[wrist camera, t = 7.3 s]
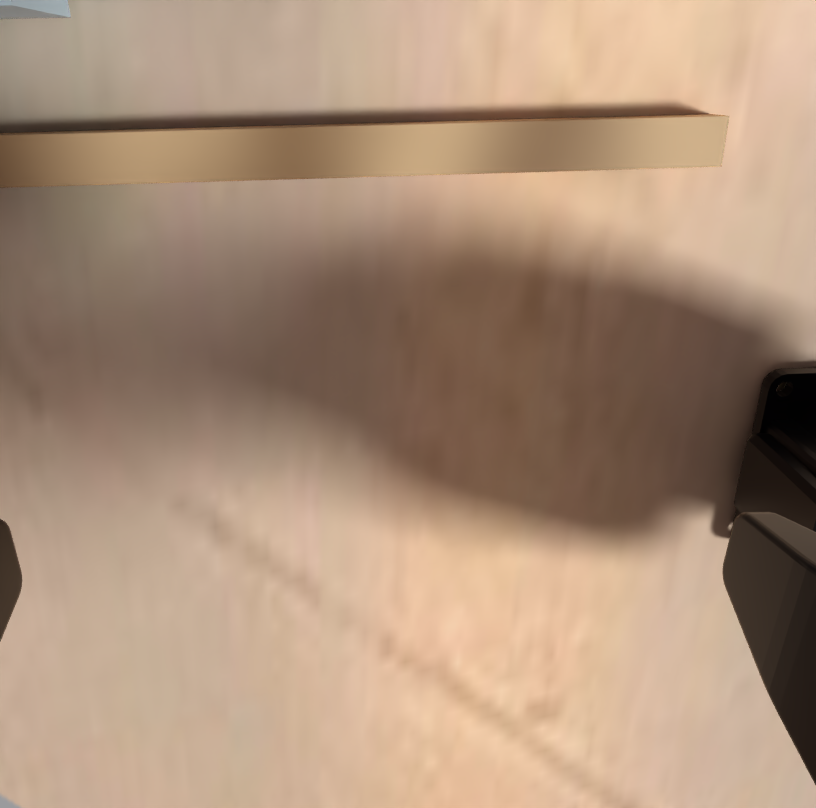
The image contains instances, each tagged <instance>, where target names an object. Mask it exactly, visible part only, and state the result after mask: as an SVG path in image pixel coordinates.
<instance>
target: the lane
mask: <svg viewBox="0 0 816 808" xmlns="http://www.w3.org/2000/svg"><path fill="white" fill-rule="evenodd" d="M728 122H729V116H724V115H714V114H701V115H664V116H626V117H588V118H550V119H512V120H475V121H437V122H399V123H361V124H323V125H286V126H248V127H210V128H172V129H134V130H97V131H59V132H21V133H0V188H5V187H39V186H73V185H108V184H142V183H176V182H210V181H245V180H279V179H313V178H348V177H382V176H416V175H450V174H485V173H519V172H553V171H588V170H622V169H656V168H691V167H721V166H722V160H723V153H724V147H725V141H726V134H727V128H728Z"/></svg>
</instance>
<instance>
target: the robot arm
mask: <svg viewBox="0 0 816 808" xmlns="http://www.w3.org/2000/svg"><path fill="white" fill-rule="evenodd" d="M782 382H786V385H785V387H784V388H783V389H782V390H781V391H777V390H776V389H777V387H778V385H780V384H781V383H782ZM734 505H735V507H736V512H735V517H734V522H733V526H732V531H731V535H730V539H729V543H728V547H727V551H726V555H725V559H724V563H723V580H724V584H725V587H726V590H727V592H728V595H729V597H730V600H731V602H732V605H733V608H734V610H735V613H736V615H737V618H738V620H739V623H740V625H741V628H742V630H743V633H744V635H745V638H746V640H747V643H748V645H749V648H750V650H751V653H752V656H753V658H754V661H755V663H756V666H757V668H758V671H759V673H760V676H761V678H762V680H763V683H764V685H765V687H766V690H767V692H768V694H769V696H770V698H771V700H772V702H773V704H774V706H775V708H776V710H777V712H778V714H779V716H780V718H781V720H782V722H783V724H784V726H785V728H786V729H787V731H788V733H789V735H790V737H791V739H792V741H793V743H794V745H795V747H796V749H797V750H798V752H799V754H800V756H801V758H802V760H803V762H804V764H805V766H806V768H807V770H808V772H809V773H810V775H811V777H812V779H813V781H814V783H815V785H816V368H791V369H778V370H774V371H773V372H771V373H769V374H768V375H767V376H766V378H765V379H764V381H763V383H762V387H761V392H760V397H759V401H758V406H757V411H756V416H755V421H754V425H753V430H752V435H751V436H750V437H749V439H748V440H747V443H746V448H745V452H744V457H743V462H742V467H741V472H740V477H739V482H738V486H737V491H736V496H735V501H734ZM21 587H22V573H21V568H20V565H19V561H18V557H17V553H16V550H15V546H14V542H13V538H12V535H11V531H10V528H9V526H8V525H7V523H6V522H5V521H3V520H1V519H0V641H1V639H2V636H3V634H4V631H5V629H6V627H7V624H8V622H9V619H10V617H11V614H12V612H13V610H14V607H15V605H16V602H17V600H18V597H19V595H20V591H21Z"/></svg>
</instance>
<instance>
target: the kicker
mask: <svg viewBox="0 0 816 808" xmlns="http://www.w3.org/2000/svg"><path fill="white" fill-rule="evenodd" d="M69 17H71V15H70V10H69V5H68V0H0V19H21V18H69Z"/></svg>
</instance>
